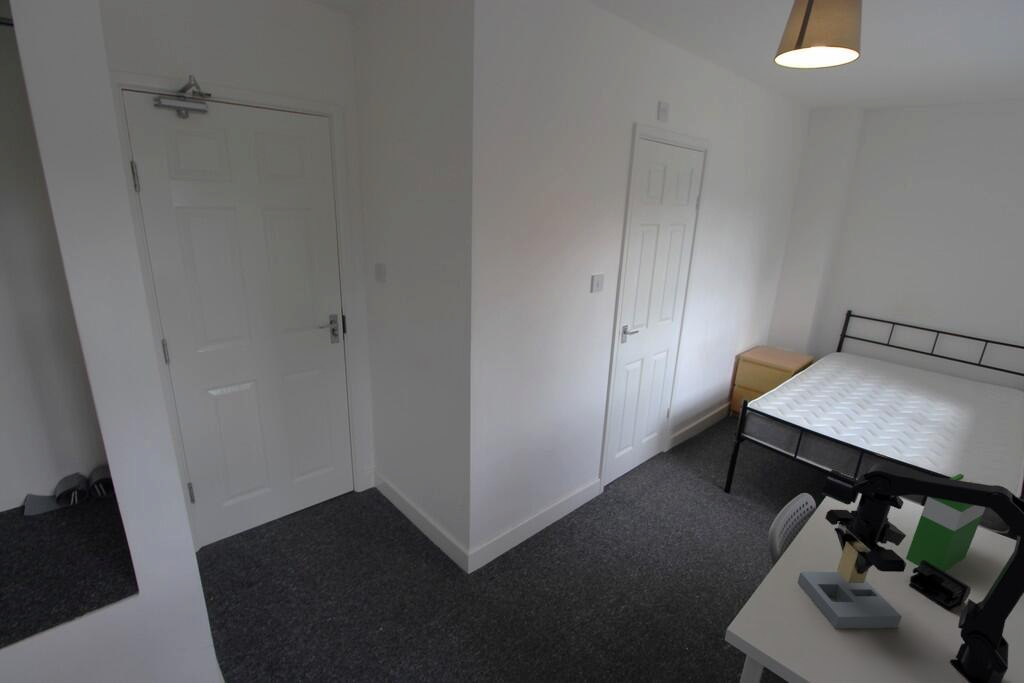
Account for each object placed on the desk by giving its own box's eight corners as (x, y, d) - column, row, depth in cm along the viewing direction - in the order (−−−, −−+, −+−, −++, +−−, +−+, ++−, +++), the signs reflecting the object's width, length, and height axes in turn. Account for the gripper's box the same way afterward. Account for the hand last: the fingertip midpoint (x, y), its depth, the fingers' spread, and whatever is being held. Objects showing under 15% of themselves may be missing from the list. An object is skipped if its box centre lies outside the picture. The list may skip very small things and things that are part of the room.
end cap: (965, 605, 121) (974, 583, 119) (950, 613, 119) (959, 591, 117) (920, 577, 130) (928, 557, 128) (905, 584, 127) (913, 563, 125)
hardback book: (934, 541, 145) (960, 473, 138) (965, 557, 139) (993, 487, 132) (905, 558, 137) (931, 487, 130) (936, 576, 131) (965, 502, 124)
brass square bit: (863, 583, 116) (874, 553, 113) (848, 582, 115) (858, 552, 113) (851, 570, 119) (861, 541, 117) (836, 570, 119) (846, 541, 117)
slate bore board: (897, 627, 113) (901, 616, 112) (834, 628, 112) (838, 616, 111) (853, 582, 127) (857, 571, 126) (797, 582, 126) (800, 571, 125)
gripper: (939, 542, 103) (916, 598, 108) (873, 491, 121) (856, 541, 126) (890, 540, 103) (870, 597, 107) (832, 489, 121) (816, 540, 125)
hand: (853, 566), depth 116 cm, fingers closed on brass square bit, 4 cm apart
